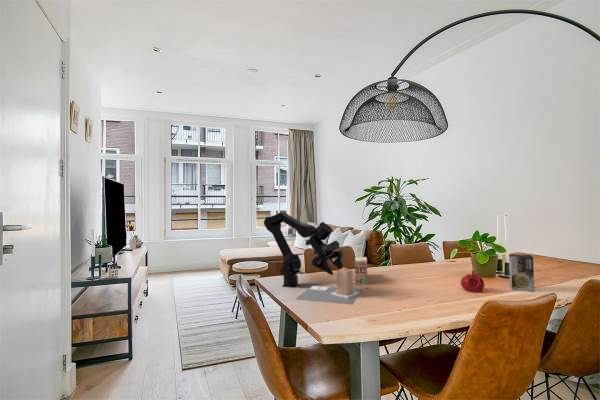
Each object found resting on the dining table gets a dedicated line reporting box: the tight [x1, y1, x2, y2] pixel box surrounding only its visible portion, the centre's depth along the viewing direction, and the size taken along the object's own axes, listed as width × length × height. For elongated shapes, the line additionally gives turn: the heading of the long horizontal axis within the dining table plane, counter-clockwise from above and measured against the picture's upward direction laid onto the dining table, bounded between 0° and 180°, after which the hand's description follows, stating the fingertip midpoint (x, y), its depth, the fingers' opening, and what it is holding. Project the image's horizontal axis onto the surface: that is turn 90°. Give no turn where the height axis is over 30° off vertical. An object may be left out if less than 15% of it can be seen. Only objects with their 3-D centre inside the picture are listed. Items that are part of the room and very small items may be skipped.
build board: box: [295, 284, 364, 306], centre depth 151 cm, size 25×25×2 cm
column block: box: [336, 267, 354, 296], centre depth 149 cm, size 5×5×12 cm
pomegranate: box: [460, 270, 485, 293], centre depth 157 cm, size 10×10×9 cm
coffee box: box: [508, 253, 535, 292], centre depth 158 cm, size 9×6×16 cm
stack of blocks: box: [354, 256, 368, 286], centre depth 182 cm, size 21×6×12 cm, turn 169°
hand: (338, 272), depth 152 cm, fingers open, 9 cm apart
